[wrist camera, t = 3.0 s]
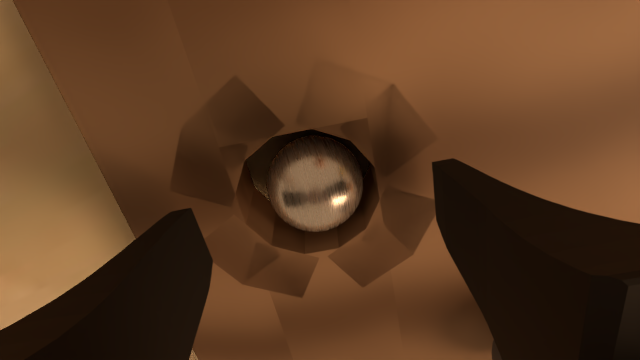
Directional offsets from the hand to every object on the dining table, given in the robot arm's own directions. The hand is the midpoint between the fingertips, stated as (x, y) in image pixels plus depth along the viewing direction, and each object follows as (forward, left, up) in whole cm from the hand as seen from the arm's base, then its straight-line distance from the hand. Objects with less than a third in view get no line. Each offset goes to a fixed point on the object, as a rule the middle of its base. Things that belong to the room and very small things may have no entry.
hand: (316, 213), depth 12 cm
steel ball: (0, 0, -2) cm, 2 cm away
